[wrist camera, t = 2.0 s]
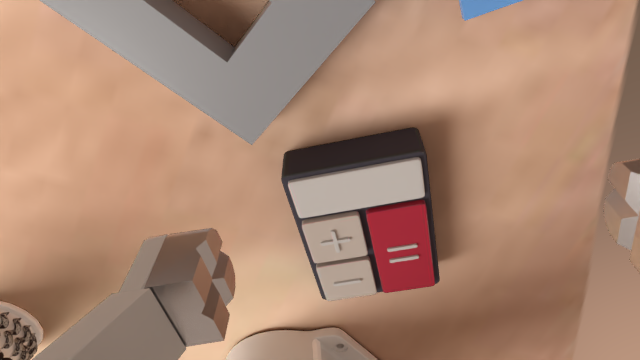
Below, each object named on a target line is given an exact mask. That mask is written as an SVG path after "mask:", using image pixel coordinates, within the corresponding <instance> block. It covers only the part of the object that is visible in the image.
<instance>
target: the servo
mask: <svg viewBox="0 0 640 360" xmlns="http://www.w3.org/2000/svg"><path fill="white" fill-rule="evenodd" d="M519 1H522V0H459V3H460V9H461V14H462V18H463V19H464V20H468V19H471V18H474V17H477V16H479V15H482V14H485V13H488V12H491V11H494V10H497V9H499V8H502V7H505V6H508V5H511V4H514V3H517V2H519Z"/></svg>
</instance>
